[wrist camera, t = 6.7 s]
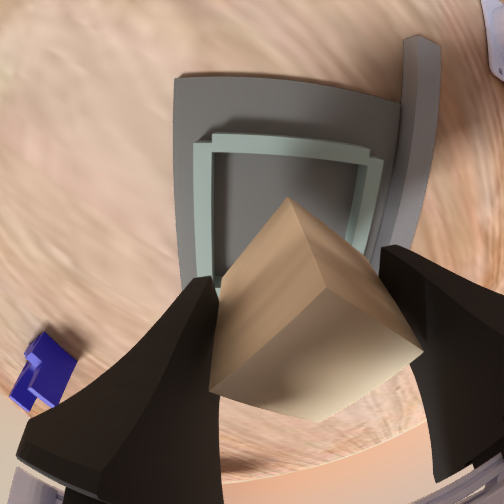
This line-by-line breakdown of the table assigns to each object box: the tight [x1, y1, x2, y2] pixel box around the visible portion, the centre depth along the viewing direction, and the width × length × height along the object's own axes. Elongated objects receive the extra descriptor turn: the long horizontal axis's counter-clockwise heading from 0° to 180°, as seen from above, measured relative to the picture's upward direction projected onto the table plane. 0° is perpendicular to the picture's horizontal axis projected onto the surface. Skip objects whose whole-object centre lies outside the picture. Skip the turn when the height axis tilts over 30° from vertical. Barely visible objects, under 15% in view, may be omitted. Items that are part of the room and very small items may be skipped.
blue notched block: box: [9, 331, 77, 412], centre depth 19 cm, size 12×4×6 cm, turn 122°
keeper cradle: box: [173, 77, 401, 299], centre depth 13 cm, size 11×14×2 cm
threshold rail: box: [370, 35, 441, 275], centre depth 14 cm, size 2×22×2 cm, turn 177°
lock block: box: [209, 197, 424, 422], centre depth 8 cm, size 4×4×5 cm
